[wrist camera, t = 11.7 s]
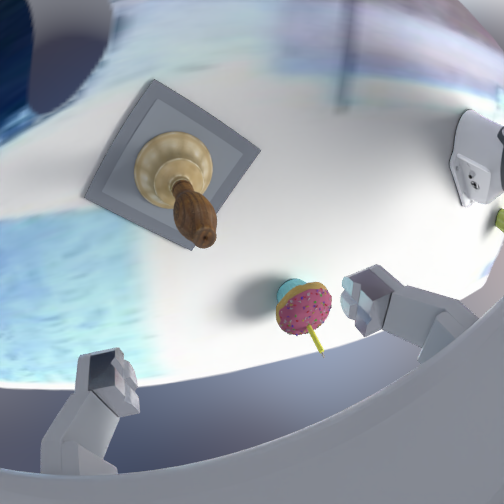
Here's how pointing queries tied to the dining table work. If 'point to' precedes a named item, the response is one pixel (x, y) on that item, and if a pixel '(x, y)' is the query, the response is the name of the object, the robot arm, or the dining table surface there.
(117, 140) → the plate
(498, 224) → the plant pot
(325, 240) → the dining table surface
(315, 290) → the cupcake
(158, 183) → the hand bell
